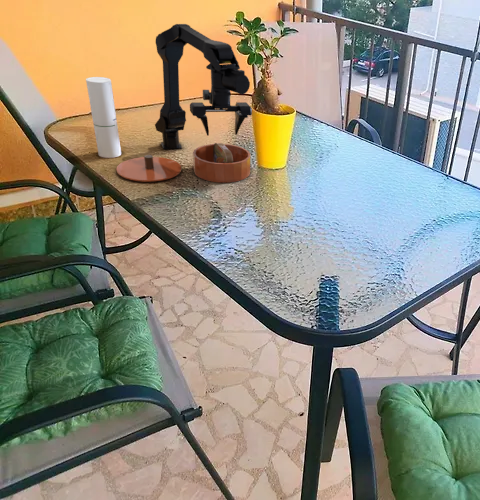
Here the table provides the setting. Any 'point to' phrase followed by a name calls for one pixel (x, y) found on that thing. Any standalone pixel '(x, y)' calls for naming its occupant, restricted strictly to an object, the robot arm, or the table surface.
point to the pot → (221, 164)
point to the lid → (149, 168)
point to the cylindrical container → (104, 116)
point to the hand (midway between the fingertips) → (221, 134)
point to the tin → (222, 154)
